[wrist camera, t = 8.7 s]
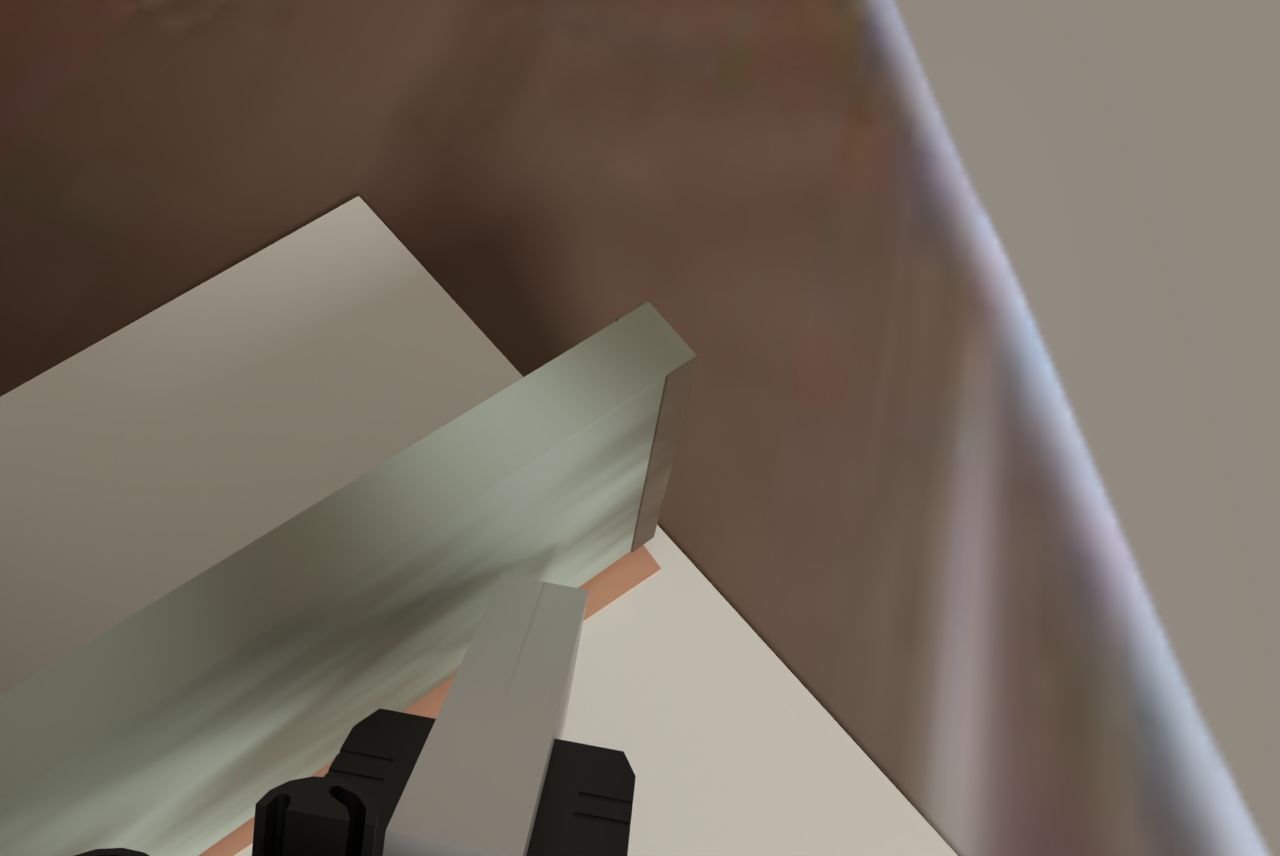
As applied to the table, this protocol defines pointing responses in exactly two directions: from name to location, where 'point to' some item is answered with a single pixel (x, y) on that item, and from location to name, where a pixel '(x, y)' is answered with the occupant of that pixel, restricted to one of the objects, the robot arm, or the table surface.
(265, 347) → the card
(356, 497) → the hinged fence panel
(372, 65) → the table surface
